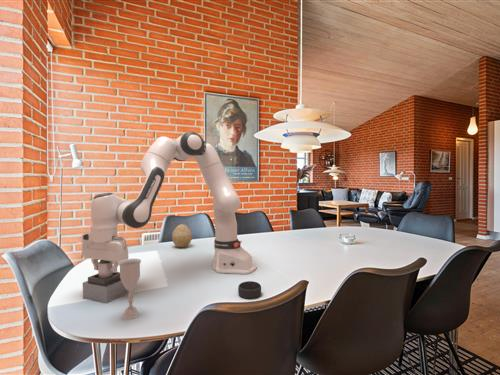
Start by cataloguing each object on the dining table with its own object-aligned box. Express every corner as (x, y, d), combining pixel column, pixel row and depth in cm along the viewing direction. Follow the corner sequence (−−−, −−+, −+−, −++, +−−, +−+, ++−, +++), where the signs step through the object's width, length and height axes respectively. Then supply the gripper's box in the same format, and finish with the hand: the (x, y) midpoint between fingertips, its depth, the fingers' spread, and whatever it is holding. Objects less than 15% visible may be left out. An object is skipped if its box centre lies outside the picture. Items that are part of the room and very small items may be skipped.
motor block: (127, 292, 111) (127, 272, 111) (106, 303, 102) (106, 281, 102) (98, 287, 117) (97, 268, 117) (75, 296, 108) (75, 276, 108)
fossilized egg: (171, 250, 176) (171, 226, 176) (172, 245, 188) (172, 223, 188) (192, 248, 179) (192, 225, 178) (191, 244, 191) (191, 222, 191)
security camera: (115, 278, 110) (115, 258, 110) (105, 283, 105) (104, 262, 105) (106, 277, 112) (105, 257, 112) (95, 281, 107) (94, 260, 107)
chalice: (114, 318, 91) (112, 263, 91) (130, 309, 98) (128, 257, 97) (131, 322, 89) (130, 265, 88) (147, 312, 95) (146, 259, 94)
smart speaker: (233, 296, 108) (233, 286, 107) (246, 288, 115) (246, 279, 115) (253, 301, 103) (253, 291, 103) (265, 293, 111) (265, 283, 110)
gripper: (131, 235, 107) (132, 271, 108) (92, 232, 115) (93, 265, 115) (118, 239, 101) (119, 276, 102) (78, 235, 109) (79, 270, 109)
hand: (105, 270), depth 109 cm, fingers open, 7 cm apart
